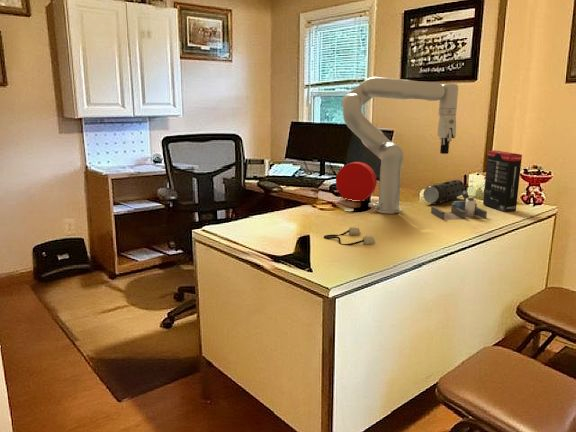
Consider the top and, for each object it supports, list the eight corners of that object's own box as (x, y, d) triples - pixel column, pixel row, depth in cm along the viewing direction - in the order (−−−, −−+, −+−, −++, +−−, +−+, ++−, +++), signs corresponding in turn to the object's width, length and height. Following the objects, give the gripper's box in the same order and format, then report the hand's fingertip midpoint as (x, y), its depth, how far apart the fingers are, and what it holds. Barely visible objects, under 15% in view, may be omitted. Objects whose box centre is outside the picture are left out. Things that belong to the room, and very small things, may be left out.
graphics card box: (517, 211, 223) (523, 153, 216) (504, 212, 221) (510, 153, 215) (493, 204, 239) (499, 149, 233) (481, 205, 237) (486, 150, 231)
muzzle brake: (464, 199, 252) (466, 180, 249) (438, 207, 232) (440, 186, 230) (447, 197, 258) (449, 178, 256) (421, 204, 239) (422, 184, 237)
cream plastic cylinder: (466, 216, 208) (468, 198, 206) (462, 214, 212) (464, 197, 210) (475, 216, 209) (477, 198, 207) (471, 214, 212) (473, 197, 211)
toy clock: (375, 201, 246) (377, 162, 241) (372, 203, 241) (374, 164, 236) (338, 198, 254) (339, 160, 249) (335, 200, 249) (336, 162, 244)
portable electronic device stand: (476, 212, 223) (478, 194, 221) (459, 210, 225) (460, 193, 223) (476, 208, 231) (477, 191, 229) (458, 207, 233) (460, 190, 231)
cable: (337, 249, 167) (337, 240, 166) (321, 237, 182) (321, 228, 182) (377, 245, 171) (377, 236, 171) (358, 234, 187) (358, 225, 186)
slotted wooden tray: (442, 221, 204) (443, 208, 202) (429, 214, 217) (430, 201, 216) (487, 221, 205) (488, 207, 204) (472, 213, 219) (473, 200, 218)
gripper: (462, 112, 206) (459, 155, 210) (448, 112, 221) (445, 151, 225) (446, 112, 206) (442, 155, 210) (432, 112, 220) (430, 151, 224)
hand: (444, 153), depth 217 cm, fingers closed
